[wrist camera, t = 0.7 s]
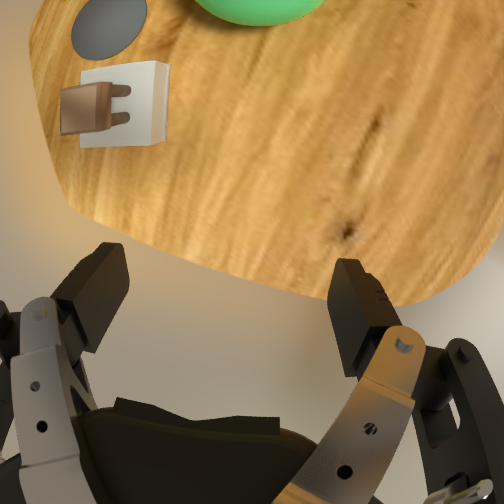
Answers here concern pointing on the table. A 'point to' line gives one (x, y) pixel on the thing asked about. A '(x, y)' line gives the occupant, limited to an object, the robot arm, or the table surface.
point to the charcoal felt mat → (107, 27)
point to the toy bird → (260, 10)
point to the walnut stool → (91, 108)
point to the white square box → (133, 104)
